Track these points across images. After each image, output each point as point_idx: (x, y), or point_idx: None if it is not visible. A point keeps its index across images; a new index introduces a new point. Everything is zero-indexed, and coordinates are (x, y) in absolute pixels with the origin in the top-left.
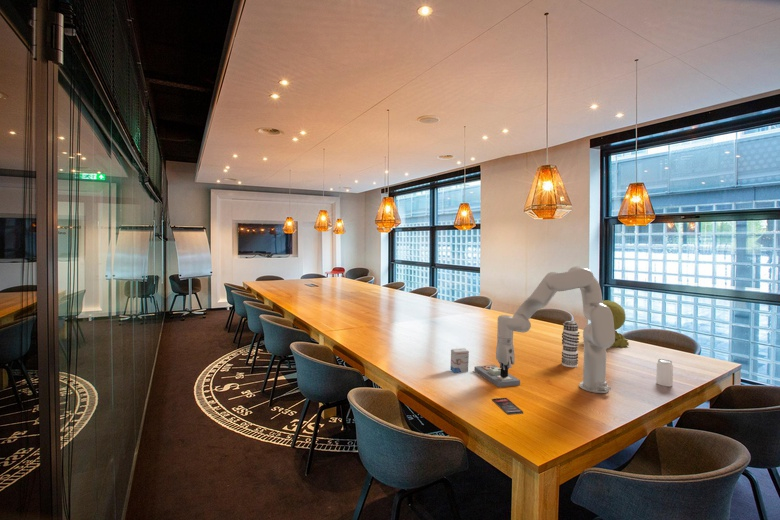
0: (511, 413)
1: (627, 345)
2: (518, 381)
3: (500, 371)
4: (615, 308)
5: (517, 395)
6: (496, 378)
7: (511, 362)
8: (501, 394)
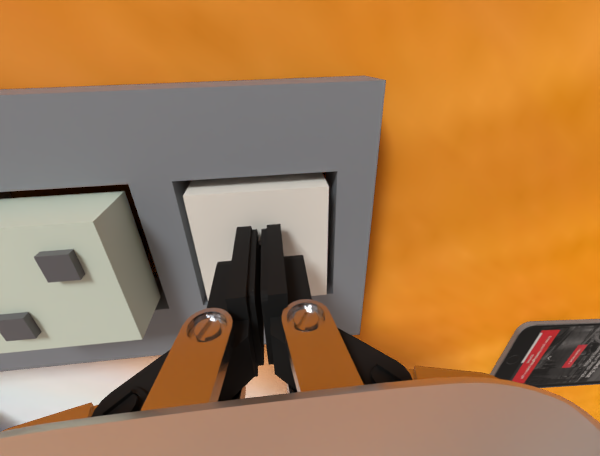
0: None
1: None
2: (377, 106)
3: (115, 260)
4: None
5: (535, 239)
6: None
7: (433, 433)
8: (459, 326)
